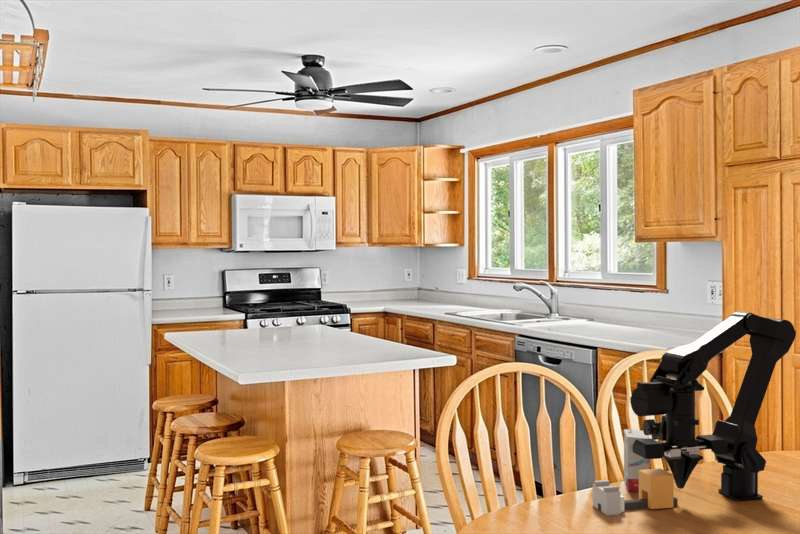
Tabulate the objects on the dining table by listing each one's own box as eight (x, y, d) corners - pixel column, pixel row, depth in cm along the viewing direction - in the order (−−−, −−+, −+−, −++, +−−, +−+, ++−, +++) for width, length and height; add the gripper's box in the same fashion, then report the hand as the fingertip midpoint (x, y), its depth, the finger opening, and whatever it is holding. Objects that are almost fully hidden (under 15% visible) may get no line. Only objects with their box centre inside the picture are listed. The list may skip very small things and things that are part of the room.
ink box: (650, 492, 166) (650, 438, 165) (627, 491, 167) (627, 437, 166) (645, 481, 174) (646, 429, 174) (623, 479, 175) (623, 428, 175)
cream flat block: (615, 505, 157) (615, 491, 157) (624, 511, 154) (624, 496, 154) (611, 506, 157) (611, 491, 157) (619, 512, 153) (619, 497, 153)
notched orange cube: (660, 499, 160) (660, 468, 160) (673, 507, 155) (673, 474, 155) (638, 501, 159) (638, 469, 159) (650, 509, 154) (651, 476, 154)
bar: (673, 503, 159) (673, 496, 159) (677, 505, 157) (677, 498, 157) (597, 509, 155) (597, 502, 155) (601, 511, 154) (601, 504, 154)
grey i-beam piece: (606, 504, 158) (606, 479, 158) (620, 514, 152) (620, 487, 152) (592, 505, 157) (592, 480, 157) (606, 515, 152) (606, 488, 151)
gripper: (697, 403, 168) (697, 474, 168) (619, 407, 164) (619, 479, 164) (729, 413, 157) (729, 489, 157) (646, 418, 153) (646, 496, 153)
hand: (680, 488), depth 158 cm, fingers closed
